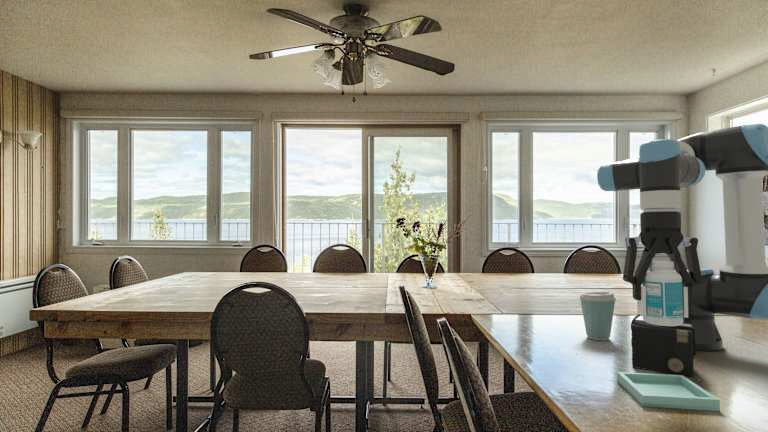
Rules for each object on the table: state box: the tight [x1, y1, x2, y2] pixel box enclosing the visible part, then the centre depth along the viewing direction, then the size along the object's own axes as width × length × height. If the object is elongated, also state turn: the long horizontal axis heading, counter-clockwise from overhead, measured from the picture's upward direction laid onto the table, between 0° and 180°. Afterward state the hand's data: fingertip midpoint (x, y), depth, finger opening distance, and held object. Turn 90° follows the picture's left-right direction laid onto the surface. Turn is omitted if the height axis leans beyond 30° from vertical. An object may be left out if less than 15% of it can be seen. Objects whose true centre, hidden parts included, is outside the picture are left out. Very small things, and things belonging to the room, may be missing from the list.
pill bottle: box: [641, 260, 683, 326], centre depth 92 cm, size 8×7×14 cm
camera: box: [630, 314, 697, 377], centre depth 109 cm, size 11×14×15 cm
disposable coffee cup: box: [579, 291, 617, 341], centre depth 138 cm, size 11×11×15 cm
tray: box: [616, 371, 721, 412], centre depth 91 cm, size 14×14×2 cm
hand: (662, 315), depth 92 cm, fingers closed on pill bottle, 7 cm apart
